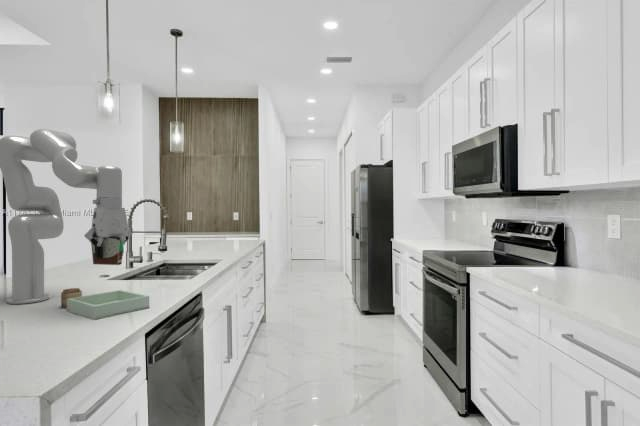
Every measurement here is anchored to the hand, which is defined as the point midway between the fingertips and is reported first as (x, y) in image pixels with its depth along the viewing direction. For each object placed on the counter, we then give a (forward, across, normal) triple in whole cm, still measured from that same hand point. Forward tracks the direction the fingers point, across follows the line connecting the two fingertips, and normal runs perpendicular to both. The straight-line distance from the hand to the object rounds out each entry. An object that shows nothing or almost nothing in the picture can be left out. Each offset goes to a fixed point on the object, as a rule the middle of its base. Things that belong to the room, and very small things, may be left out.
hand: (109, 256), depth 133 cm
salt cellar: (+18, -5, +15) cm, 24 cm away
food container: (+3, +1, 0) cm, 3 cm away
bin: (+18, 0, 0) cm, 18 cm away
